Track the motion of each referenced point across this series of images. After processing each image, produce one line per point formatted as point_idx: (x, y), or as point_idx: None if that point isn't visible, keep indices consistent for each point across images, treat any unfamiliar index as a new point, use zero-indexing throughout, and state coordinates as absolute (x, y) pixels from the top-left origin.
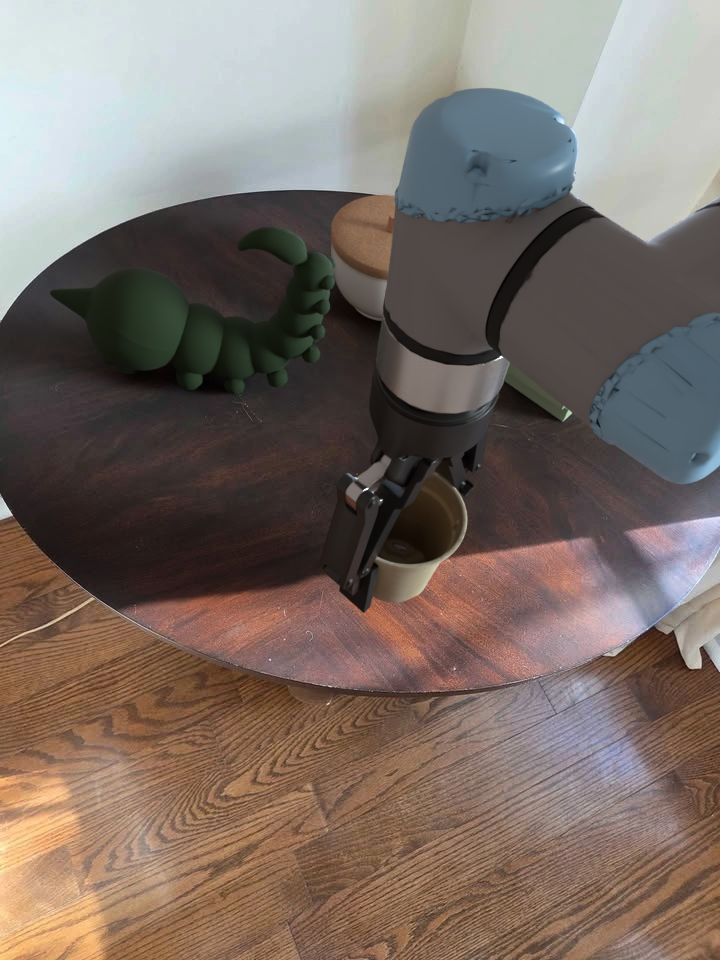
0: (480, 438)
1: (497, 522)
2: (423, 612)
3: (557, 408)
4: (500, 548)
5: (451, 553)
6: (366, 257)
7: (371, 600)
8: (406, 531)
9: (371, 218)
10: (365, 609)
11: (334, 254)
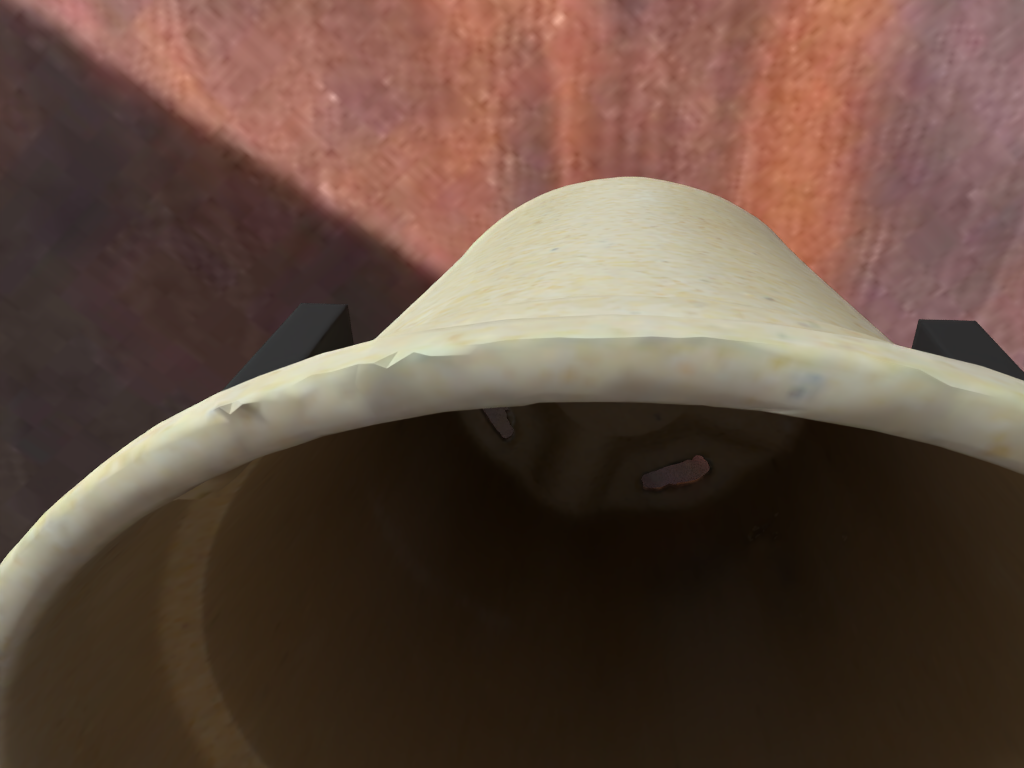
0: None
1: (6, 157)
2: (617, 92)
3: None
4: (72, 51)
5: (710, 342)
6: None
7: (953, 358)
8: (435, 464)
9: None
10: (980, 335)
11: None
